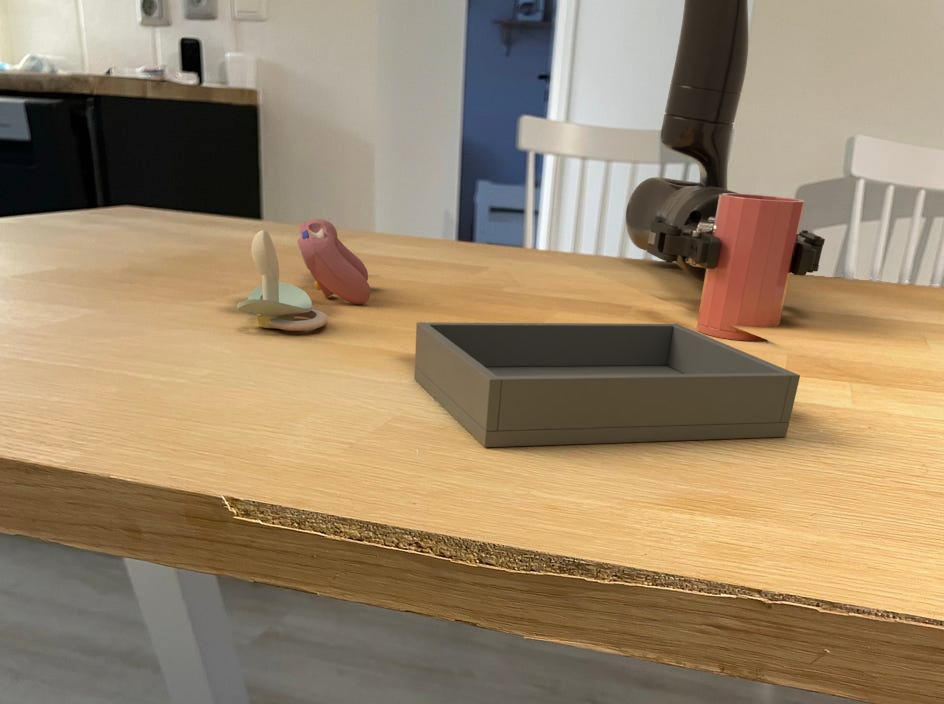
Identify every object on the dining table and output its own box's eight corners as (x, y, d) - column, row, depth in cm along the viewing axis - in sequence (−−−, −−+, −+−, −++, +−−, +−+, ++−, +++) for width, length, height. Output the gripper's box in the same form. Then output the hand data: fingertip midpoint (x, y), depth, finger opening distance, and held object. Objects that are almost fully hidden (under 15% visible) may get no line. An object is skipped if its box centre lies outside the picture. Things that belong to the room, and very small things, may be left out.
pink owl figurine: (326, 302, 85) (288, 224, 82) (372, 280, 85) (336, 201, 81) (324, 324, 77) (282, 238, 73) (375, 300, 76) (335, 213, 73)
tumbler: (748, 325, 80) (774, 195, 75) (791, 341, 75) (822, 203, 70) (682, 324, 78) (704, 191, 74) (722, 341, 73) (749, 199, 68)
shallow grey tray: (668, 375, 62) (677, 323, 60) (786, 436, 51) (800, 375, 49) (414, 379, 57) (416, 322, 55) (484, 447, 46) (489, 379, 44)
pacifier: (333, 320, 71) (253, 312, 71) (335, 230, 68) (252, 222, 68) (320, 341, 65) (232, 332, 65) (322, 243, 62) (229, 233, 62)
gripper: (639, 182, 84) (674, 196, 70) (798, 194, 85) (866, 210, 70) (626, 271, 88) (657, 302, 73) (779, 282, 88) (840, 315, 74)
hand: (759, 257), depth 72 cm, fingers closed on tumbler, 6 cm apart
